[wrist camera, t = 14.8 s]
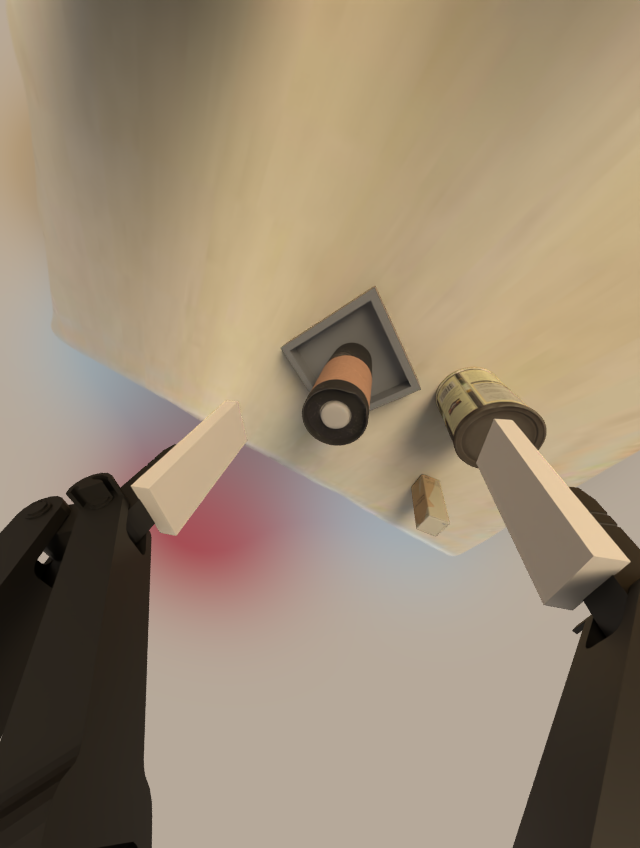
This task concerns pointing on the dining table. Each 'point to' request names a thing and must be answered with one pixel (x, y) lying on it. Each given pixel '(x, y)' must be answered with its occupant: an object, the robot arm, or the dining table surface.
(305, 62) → the dining table surface
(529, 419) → the coffee can
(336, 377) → the travel mug
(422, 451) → the dining table surface
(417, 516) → the box
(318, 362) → the bin
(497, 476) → the robot arm
